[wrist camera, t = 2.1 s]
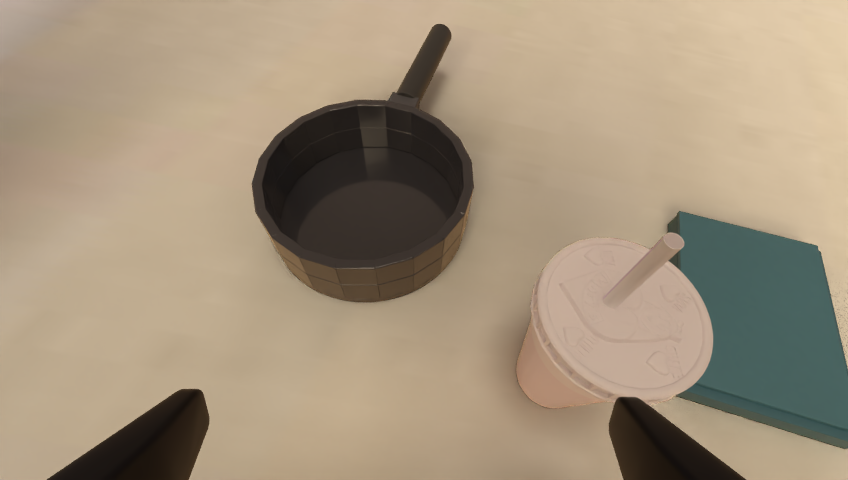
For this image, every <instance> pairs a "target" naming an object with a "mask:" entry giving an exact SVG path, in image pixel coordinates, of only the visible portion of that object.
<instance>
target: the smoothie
mask: <svg viewBox="0 0 848 480" xmlns="http://www.w3.org/2000/svg"><path fill="white" fill-rule="evenodd" d="M683 247H684V241H683V239H682V238H681V237H680V236H679V235H678V234H676V233H666V234H665V235H664V236H663V237H662V238H661V239H660V240H659V241H658V242H657V243H656V244H655V245H654V246H653V247H652V248H651V249H648V248H646V247H644V246H641V245H639V244H636V243H633V242H630V241H626V240H622V239H617V238H608V237H598V238H589V239H584V240H580V241H577V242H574V243H572V244H570V245H568V246H566V247H564V248H563V249H561V250H560V251H559V252H557V253H556V254H555V255H554V256H553V257H552V258H551V259H550V261H549V262H548V264H547V265H546V266H545V267H544V268H543V269H542V271H541V273H540V275H539V277H538V278H537V280H536V282H535V284H534V287H533V293H532V298H531V314H532V318H531V321H530V324H529V327H528V330H527V333H526V336H525V339H524V342H523V345H522V348H521V351H520V354H519V357H518V361H517V365H516V374H517V379H518V382H519V385H520V387H521V389H522V390H523V392H524V393H525V394H526V395H527V396H528V397H529V398H530V399H531V400H532V401H533V402H535V403H537V404H539V405H541V406H543V407H547V408H563V407H570V406H578V405H585V404H592V403H600V402H607V401H609V402H612V403H615V401H616V399H617V398H618V397H637V398H639V399H641V400H642V401H644V402H645V403H646V404H648V405H653V404H657V403H661V402H665V401H668V400H669V399H671V398H672V397H674V396H675V395H677V394H679V393H681V392H683V391H685V390H687V389H688V388H690V387H691V386H693V385H694V384H695V383H696V382H697V381H698V380H699V379H700V377H701V376H702V375H703V373H704V372H705V370H706V368H707V366H708V364H709V362H710V358H711V355H712V349H713V330H712V324H711V320H710V317H709V313H708V311H707V308H706V306H705V304H704V302H703V300H702V298H701V296H700V295H699V293H698V291H697V290H696V289H695V287H694V286H693V284H692V283H691V282H690V281H689V280H688V278H687V277H686V276H685V275H684V274H683V273H682V272H681V271H680V270H679V269H678V268H677V267H676V266H674V265H673V264H672V263H671V262H669V261H668V260H669V259H671V258H672V257H673V256H674V255H675V254H676V253H677V252H678V251H679V250H681V249H682V248H683Z"/></svg>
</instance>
